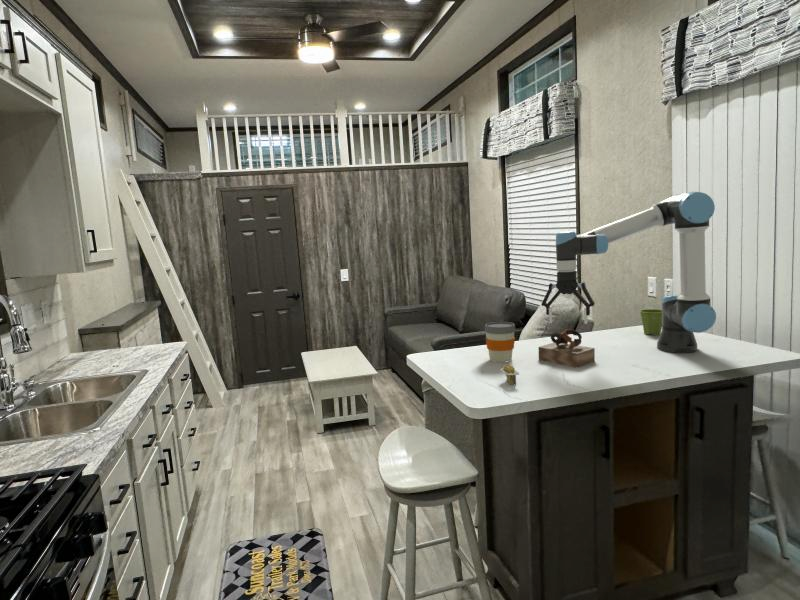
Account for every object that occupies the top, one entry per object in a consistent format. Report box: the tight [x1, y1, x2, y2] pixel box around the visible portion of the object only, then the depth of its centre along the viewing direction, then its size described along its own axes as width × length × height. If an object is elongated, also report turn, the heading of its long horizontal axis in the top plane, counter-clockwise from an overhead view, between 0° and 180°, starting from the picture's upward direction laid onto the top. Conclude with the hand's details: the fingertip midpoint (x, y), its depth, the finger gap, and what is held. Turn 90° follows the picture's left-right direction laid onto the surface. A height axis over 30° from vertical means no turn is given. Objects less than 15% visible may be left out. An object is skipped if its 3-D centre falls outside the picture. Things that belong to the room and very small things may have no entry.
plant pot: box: [638, 308, 662, 336], centre depth 251 cm, size 12×12×11 cm
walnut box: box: [538, 342, 596, 368], centre depth 211 cm, size 18×12×6 cm, turn 39°
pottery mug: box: [550, 328, 582, 349], centre depth 211 cm, size 12×10×8 cm
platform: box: [500, 363, 520, 386], centre depth 186 cm, size 12×18×7 cm, turn 11°
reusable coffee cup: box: [484, 321, 516, 363], centre depth 217 cm, size 13×13×15 cm
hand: (568, 323), depth 209 cm, fingers open, 13 cm apart
